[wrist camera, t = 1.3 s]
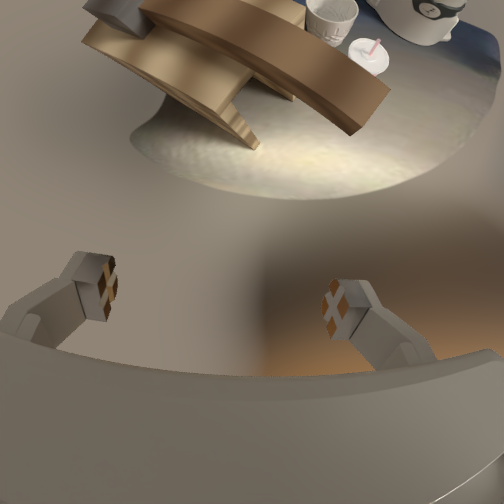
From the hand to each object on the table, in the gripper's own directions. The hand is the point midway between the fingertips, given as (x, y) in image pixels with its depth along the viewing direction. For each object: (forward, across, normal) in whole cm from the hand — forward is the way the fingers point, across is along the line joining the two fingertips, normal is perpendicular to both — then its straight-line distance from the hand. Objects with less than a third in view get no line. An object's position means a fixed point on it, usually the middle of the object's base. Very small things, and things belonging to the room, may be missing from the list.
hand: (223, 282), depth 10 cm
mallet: (+16, +1, -10) cm, 19 cm away
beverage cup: (+39, -20, -13) cm, 46 cm away
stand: (+42, 0, -4) cm, 42 cm away
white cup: (+43, -14, -20) cm, 50 cm away
